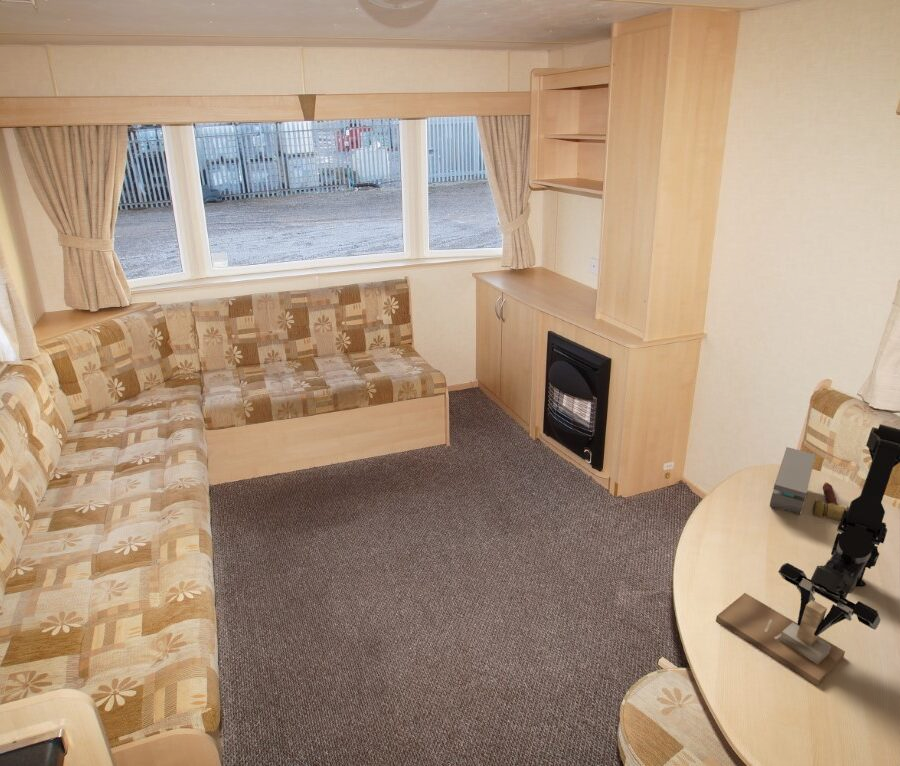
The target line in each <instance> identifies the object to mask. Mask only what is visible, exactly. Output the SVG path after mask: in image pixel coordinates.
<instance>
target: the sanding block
mask: <svg viewBox="0 0 900 766" xmlns="http://www.w3.org/2000/svg"><path fill="white" fill-rule="evenodd" d="M827 610H828V608H827V607H826V606H824V605H823V604H821V603H818V602H817V601H813V600H811V601H810V602H809V603H808V604H807V605H806V607H805V610H804V614H803V617H802V620H801V624H800V626H798V625H797V624H795V623H793V622H792V623H791V624H790V625H789V626H788V627H787V628H786V629H784V630H783V631H782V634H781V637H780V640H779V641H781V642H783V643H784V644H786V645H787V646H789V647H790V648H792V649H794V650H795V651H797V652H798V653H800V654H802V655H803V656H805V657H806V658H808V659H809V660H811V661H813V662H814V663H816V664H817V665H818V664H819V663H820V662H821V661H822V660H823V659H824V658H825V657H826V656H827V655H828V654H829V651H830V648H831V645H830V644H828V643H827V642H825V641H823V640H822V639H820V638H818V636H819V635H818V636H815V635H814V633H815V631H816V629H817V627H818V626H819V625H820V623H821V622H822V621H823V619H824V618H825V617H826V612H827Z"/></svg>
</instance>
